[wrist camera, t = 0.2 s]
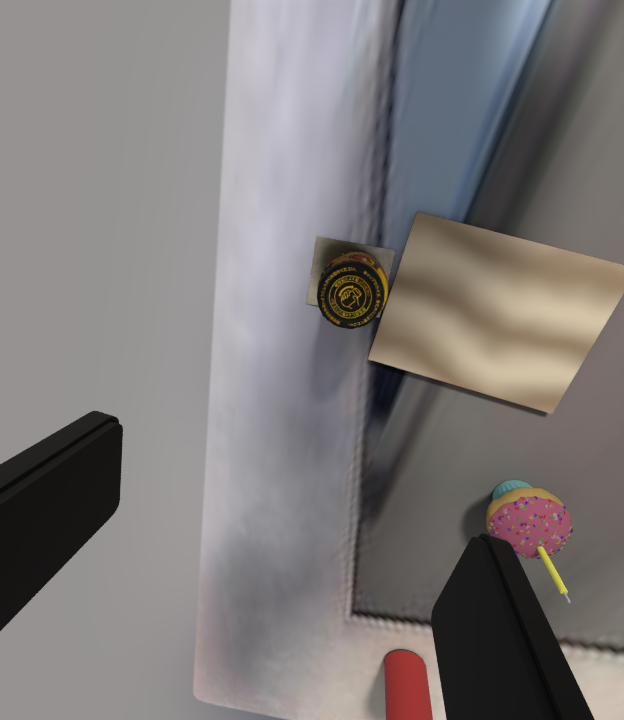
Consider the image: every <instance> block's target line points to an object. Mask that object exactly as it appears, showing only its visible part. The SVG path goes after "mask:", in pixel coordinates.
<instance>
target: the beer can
mask: <svg viewBox="0 0 624 720" xmlns="http://www.w3.org/2000/svg"><path fill="white" fill-rule="evenodd" d="M384 666H385V700H386V720H433V717H432V709H431V702H430V694H429V686H428V678H427V670H426V665H425V663H424V661H423V659H422V658H421V657H420V656H418V655H417V654H415V653H414V652H411V651H408V650H395V651H392V652H390V653H389V654H388V655H387V656H386V658H385V661H384Z"/></svg>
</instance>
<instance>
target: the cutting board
mask: <svg viewBox="0 0 624 720" xmlns="http://www.w3.org/2000/svg"><path fill="white" fill-rule="evenodd" d="M623 293H624V265H620V264H616V263H613V262H609V261H605V260H601V259H597V258H593V257H590V256H586V255H582V254H578V253H574V252H570V251H567V250H563V249H559V248H555V247H551V246H547V245H544V244H540V243H536V242H532V241H528V240H524V239H521V238H517V237H513V236H509V235H505V234H501V233H497V232H494V231H490V230H486V229H482V228H478V227H474V226H471V225H467V224H463V223H459V222H455V221H451V220H448V219H444V218H440V217H436V216H432V215H428V214H425V213H421V212H417V213H416V216H415V219H414V222H413V225H412V228H411V231H410V234H409V237H408V240H407V243H406V246H405V249H404V252H403V255H402V258H401V261H400V264H399V267H398V270H397V273H396V276H395V279H394V282H393V285H392V288H391V291H390V294H389V297H388V300H387V303H386V306H385V309H384V312H383V315H382V318H381V320H380V323H379V326H378V329H377V332H376V335H375V338H374V341H373V344H372V347H371V350H370V353H369V356H368V359H369V360H372V361H376V362H379V363H383V364H386V365H389V366H393V367H396V368H399V369H403V370H406V371H409V372H413V373H416V374H420V375H423V376H426V377H430V378H433V379H436V380H440V381H443V382H446V383H450V384H453V385H457V386H460V387H463V388H467V389H470V390H473V391H477V392H480V393H483V394H487V395H490V396H494V397H497V398H500V399H504V400H507V401H510V402H514V403H517V404H520V405H524V406H527V407H531V408H534V409H537V410H541V411H544V412H547V413H551V414H552V413H553V412H554V410H555V408H556V407H557V405H558V403H559V401H560V400H561V398H562V396H563V395H564V393H565V391H566V390H567V388H568V386H569V385H570V383H571V381H572V380H573V378H574V376H575V374H576V373H577V371H578V369H579V368H580V366H581V364H582V363H583V361H584V359H585V358H586V356H587V354H588V352H589V351H590V349H591V347H592V346H593V344H594V342H595V341H596V339H597V337H598V336H599V334H600V332H601V331H602V329H603V327H604V325H605V324H606V322H607V320H608V319H609V317H610V315H611V314H612V312H613V310H614V309H615V307H616V305H617V304H618V302H619V300H620V298H621V297H622V295H623Z"/></svg>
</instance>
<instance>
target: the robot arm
mask: <svg viewBox="0 0 624 720" xmlns="http://www.w3.org/2000/svg"><path fill="white" fill-rule="evenodd" d="M122 436H123V428H122V425H120V424H119V420H118V418H116V417H114V416H111V415H108V414H104V413H102V412H99V411H92V412H90V413H88V414H86V415H85V416H83V417H81V418H79V419H78V420H76V421H74V422H73V423H71V424H69V425H67V426H66V427H64V428H62V429H61V430H59V431H57V432H56V433H54V434H52V435H50V436H49V437H47V438H45V439H43V440H42V441H40V442H38V443H37V444H35V445H33V446H31V447H30V448H28V449H26V450H24V451H23V452H21V453H19V454H18V455H16V456H14V457H12V458H11V459H9V460H7V461H6V462H4V463H2V464H0V631H1V630H2V629H3V628H4V627H5V626H6V625H7V624H8V623H9V622H10V621H11V619H13V617H14V616H15V615H16V614H17V613H18V612H19V611H20V610H21V609H22V608H23V607H24V606H25V605H26V604H27V603H28V602H29V601H30V600H31V599H32V598H33V597H34V596H35V595H36V593H38V592H39V591H40V590H41V589H42V588H43V587H44V585H45V584H46V583H47V582H48V581H49V580H50V579H51V578H52V577H53V576H54V575H55V574H56V573H57V572H58V571H59V570H60V569H61V568H62V567H63V566H64V565H65V564H66V563H67V562H68V561H69V560H70V559H71V558H72V557H73V556H74V555H75V554H76V553H77V551H78V550H79V549H80V548H81V547H82V546H83V545H84V544H85V543H86V542H87V541H88V540H89V539H90V538H91V537H92V536H93V535H94V534H95V533H96V532H97V531H98V530H99V529H100V528H101V527H102V526H103V525H104V523H106V522H107V521H108V520H109V518H110V517H111V516H112V515H113V514H114V513H115V511H116V509H117V508H118V505H119V501H120V482H121V459H122ZM431 624H432V631H433V637H434V643H435V650H436V656H437V662H438V668H439V675H440V681H441V687H442V693H443V699H444V706H445V712H446V718H447V720H594V717H593V715H592V713H591V711H590V709H589V707H588V705H587V703H586V701H585V698H584V696H583V694H582V692H581V690H580V688H579V686H578V684H577V682H576V679H575V677H574V675H573V673H572V671H571V669H570V667H569V665H568V663H567V661H566V658H565V656H564V654H563V652H562V650H561V648H560V646H559V644H558V642H557V639H556V637H555V635H554V633H553V631H552V629H551V627H550V625H549V623H548V620H547V618H546V616H545V614H544V612H543V610H542V608H541V606H540V604H539V601H538V599H537V597H536V595H535V593H534V591H533V589H532V587H531V585H530V583H529V580H528V578H527V576H526V574H525V572H524V570H523V568H522V566H521V564H520V561H519V559H518V557H517V555H516V553H515V551H514V549H513V547H512V545H511V544H510V543H509V542H508V541H506V540H503V539H500V538H497V537H494V536H491V535H487V534H481V535H479V537H478V538H476V537H473V538H471V540H470V541H469V543H468V545H467V547H466V549H465V550H464V552H463V554H462V556H461V558H460V560H459V561H458V563H457V565H456V567H455V569H454V570H453V572H452V574H451V576H450V578H449V580H448V581H447V583H446V585H445V587H444V589H443V590H442V592H441V594H440V596H439V598H438V600H437V601H436V603H435V605H434V607H433V610H432V616H431Z"/></svg>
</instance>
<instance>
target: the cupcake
mask: <svg viewBox="0 0 624 720" xmlns="http://www.w3.org/2000/svg"><path fill="white" fill-rule="evenodd" d="M571 522H572V519H570V514H569V512H568V511H567V509H566V508H565V506H564V505H563V504H562V502H561V501H560V500H559V499H558V498H557V497H555V496H554V495H552V494H550V493H549V492H547V491H546V490H544V489H541V488H533V487H531V486H530V485H529V484H527V483H525V482H523V481H519V480H510V481H506V482H503V483H501V484H499V485H498V486H497V487H496V488H495V490H494V492H493V501H492V502H491V503H490V505H489V506H488V509H487V513H486V524H487V530H488V532H489V534H490V535H491V536H494V537H497V538H500V539H503V540H506V541H508V542H509V543H510V544H511V545H512V547H513V549H514V551H515V553H516V555H517V556H518V557H520V556H523V557H525V558H527V557H528V558H537V559H540V558H541V559H543V561H544V563H545V565H546V567H547V569H548V571H549V573H550V574H551V576H552V578H553V580H554V582H555V584H556V586H557V588H558V589H559V591H560V593H561V594H564V595H565V597H566V599H567V601H568V603H571V602H570V600H569V598H568V596H567V594H566V593H567V592H568V591H567V589H566V587H565V586H564V584H563V582H562V580H561V578H560V577H559V575H558V573H557V571H556V569H555V568H554V566H553V564H552V562H551V560H550V559H549V557H548V556H549V555H552V554H556V553H557V552H558V551H560V549H561V550H562V548H563V547H564V545H566V544H565V543H566V542H567V540H568V538H569V537H570V535H571V532H573V530H572V525H571ZM569 539H570V538H569Z"/></svg>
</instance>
